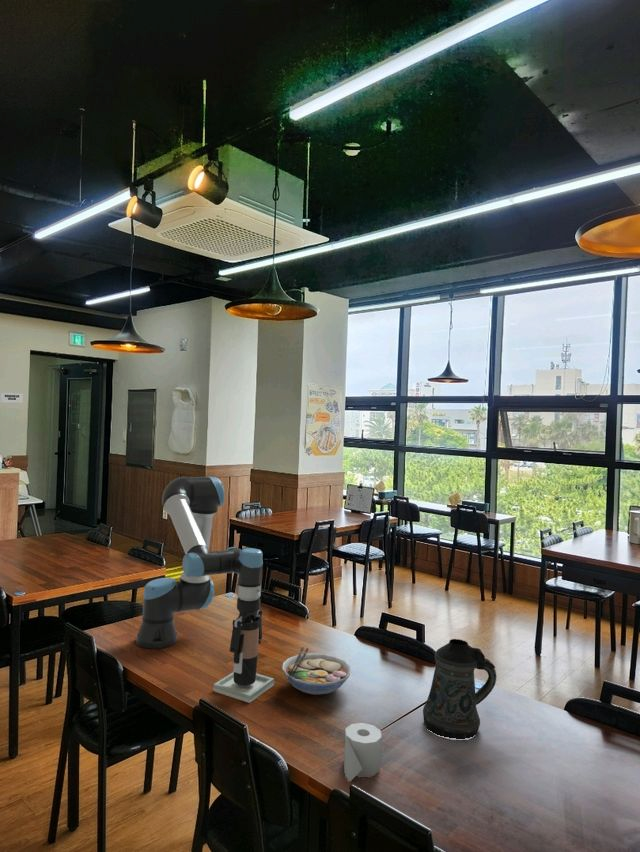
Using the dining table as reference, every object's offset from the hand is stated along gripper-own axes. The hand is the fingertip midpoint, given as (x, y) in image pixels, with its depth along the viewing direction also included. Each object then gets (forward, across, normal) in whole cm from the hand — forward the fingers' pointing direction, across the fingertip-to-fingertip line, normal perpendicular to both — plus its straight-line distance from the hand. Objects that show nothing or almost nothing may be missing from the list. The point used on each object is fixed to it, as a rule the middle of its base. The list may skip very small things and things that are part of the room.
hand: (245, 667), depth 179 cm
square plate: (+7, 0, 0) cm, 7 cm away
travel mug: (+4, 0, 0) cm, 4 cm away
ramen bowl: (+7, +12, -20) cm, 24 cm away
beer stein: (+7, +15, -65) cm, 67 cm away
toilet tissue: (+7, -20, -49) cm, 53 cm away
